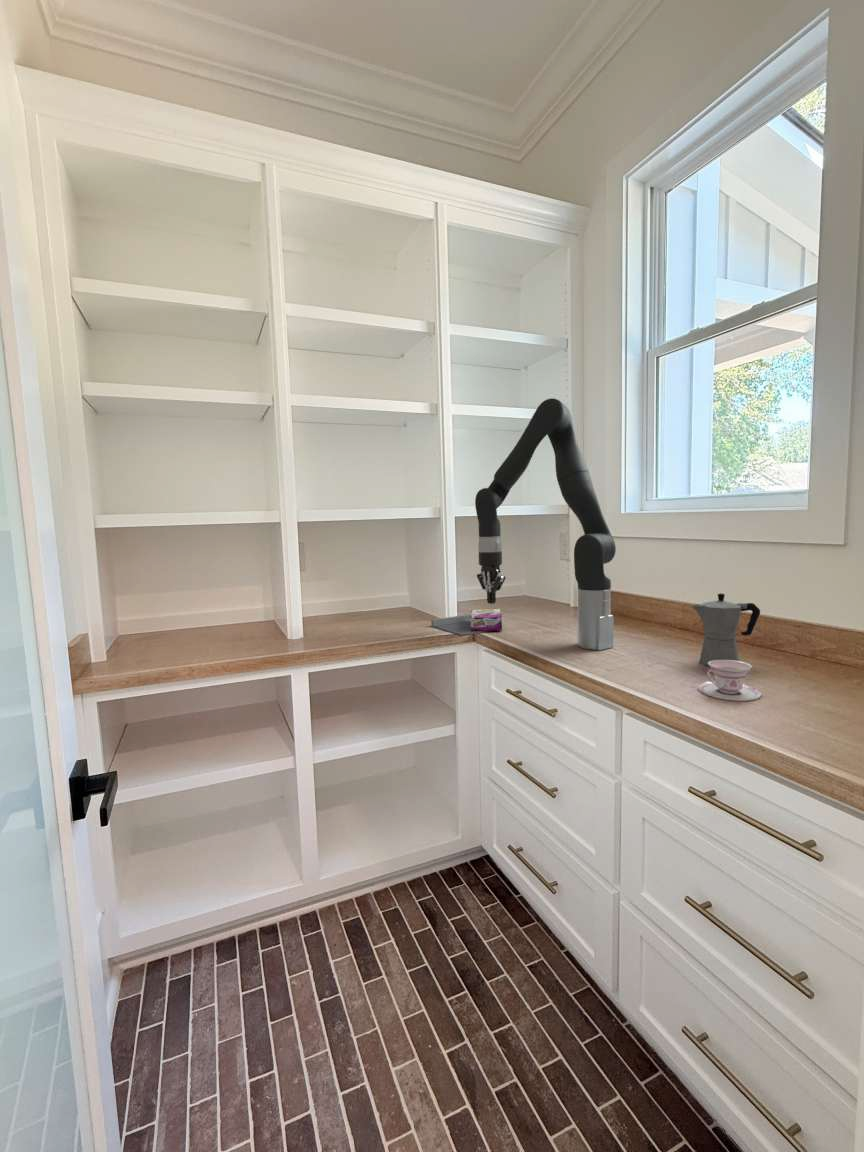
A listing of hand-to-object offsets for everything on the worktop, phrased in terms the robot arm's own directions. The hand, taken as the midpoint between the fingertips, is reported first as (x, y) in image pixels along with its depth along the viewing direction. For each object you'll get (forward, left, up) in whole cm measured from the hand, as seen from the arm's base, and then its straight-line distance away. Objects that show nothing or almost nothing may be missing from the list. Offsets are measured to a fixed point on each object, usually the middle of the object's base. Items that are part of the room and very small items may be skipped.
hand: (491, 603), depth 173 cm
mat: (+15, 0, -11) cm, 19 cm away
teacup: (-75, -7, -11) cm, 76 cm away
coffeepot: (-62, -27, -11) cm, 68 cm away
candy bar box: (+5, -1, -8) cm, 9 cm away
